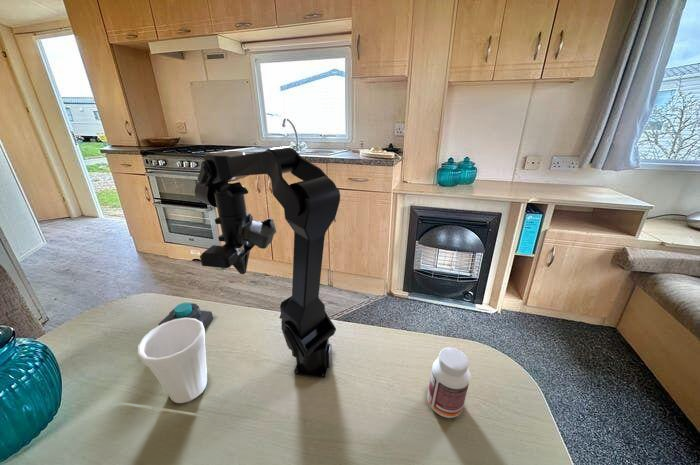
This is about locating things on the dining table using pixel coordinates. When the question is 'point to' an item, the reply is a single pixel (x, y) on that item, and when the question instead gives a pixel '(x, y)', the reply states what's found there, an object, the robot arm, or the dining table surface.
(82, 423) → the dining table surface
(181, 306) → the dispenser button
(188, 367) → the cup
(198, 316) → the dispenser
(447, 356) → the pill bottle
